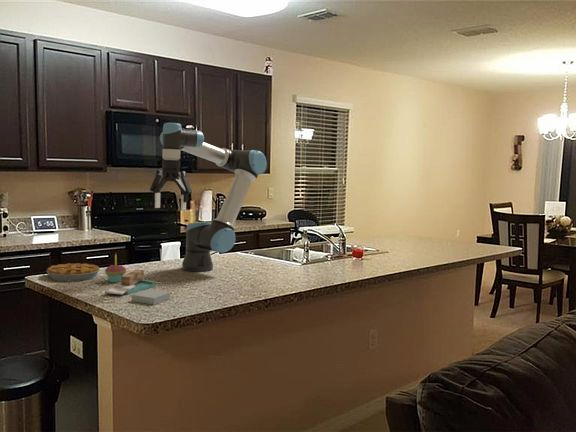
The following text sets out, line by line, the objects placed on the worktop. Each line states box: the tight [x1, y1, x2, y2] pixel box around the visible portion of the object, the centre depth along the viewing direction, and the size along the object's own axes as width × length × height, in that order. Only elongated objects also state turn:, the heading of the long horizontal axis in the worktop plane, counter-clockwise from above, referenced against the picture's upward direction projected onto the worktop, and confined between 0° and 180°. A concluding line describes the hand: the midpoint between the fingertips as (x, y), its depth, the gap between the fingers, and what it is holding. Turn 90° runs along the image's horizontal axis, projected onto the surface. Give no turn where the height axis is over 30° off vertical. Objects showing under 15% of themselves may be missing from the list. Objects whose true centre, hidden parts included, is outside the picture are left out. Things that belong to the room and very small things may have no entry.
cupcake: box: [104, 254, 127, 283], centre depth 226 cm, size 9×8×12 cm
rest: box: [109, 279, 155, 295], centre depth 214 cm, size 16×9×2 cm, turn 156°
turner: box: [104, 269, 145, 295], centre depth 212 cm, size 22×7×4 cm, turn 168°
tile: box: [131, 288, 171, 305], centre depth 198 cm, size 3×10×10 cm
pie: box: [45, 262, 100, 282], centre depth 232 cm, size 22×22×5 cm
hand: (170, 209), depth 228 cm, fingers open, 13 cm apart
